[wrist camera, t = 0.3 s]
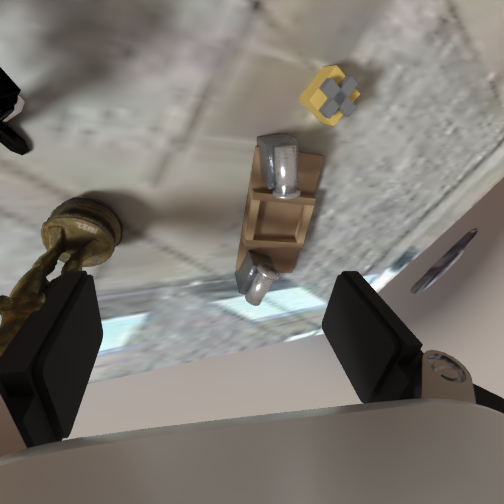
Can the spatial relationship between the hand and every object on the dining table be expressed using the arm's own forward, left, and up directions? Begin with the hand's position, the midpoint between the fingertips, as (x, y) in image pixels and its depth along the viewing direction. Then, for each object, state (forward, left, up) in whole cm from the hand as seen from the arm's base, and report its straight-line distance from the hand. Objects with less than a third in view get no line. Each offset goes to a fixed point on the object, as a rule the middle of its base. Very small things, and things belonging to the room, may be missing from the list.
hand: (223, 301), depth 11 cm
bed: (+10, +14, -35) cm, 39 cm away
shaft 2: (+20, +11, -35) cm, 42 cm away
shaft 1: (+1, +11, -35) cm, 37 cm away
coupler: (-9, +17, -35) cm, 40 cm away
